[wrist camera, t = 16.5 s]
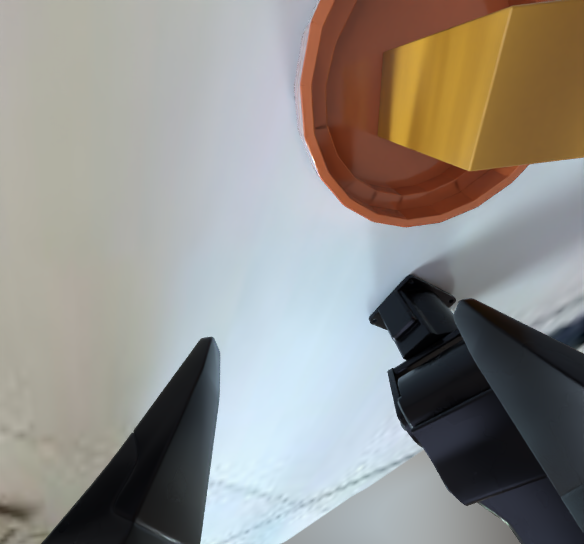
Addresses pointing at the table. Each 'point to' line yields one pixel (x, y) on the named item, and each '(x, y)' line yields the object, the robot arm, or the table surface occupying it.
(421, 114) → the ochre block
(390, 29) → the bowl
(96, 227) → the table surface
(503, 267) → the table surface
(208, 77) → the table surface
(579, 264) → the table surface
